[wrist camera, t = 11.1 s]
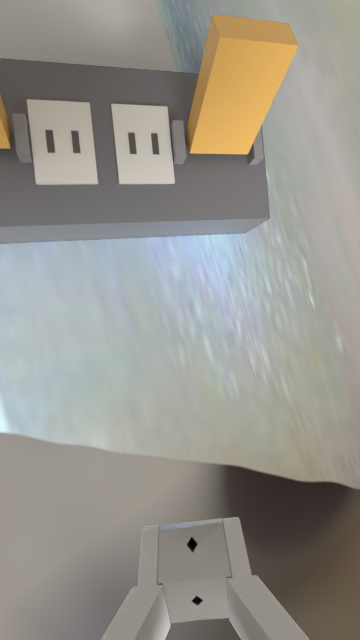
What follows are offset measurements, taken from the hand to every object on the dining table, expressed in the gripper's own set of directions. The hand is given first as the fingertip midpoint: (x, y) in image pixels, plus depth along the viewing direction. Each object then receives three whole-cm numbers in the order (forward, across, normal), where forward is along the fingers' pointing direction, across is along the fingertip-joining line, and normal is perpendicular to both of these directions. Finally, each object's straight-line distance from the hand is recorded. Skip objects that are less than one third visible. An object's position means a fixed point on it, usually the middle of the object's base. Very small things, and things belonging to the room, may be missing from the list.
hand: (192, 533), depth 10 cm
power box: (+26, +5, -12) cm, 29 cm away
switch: (+23, -5, -13) cm, 27 cm away
